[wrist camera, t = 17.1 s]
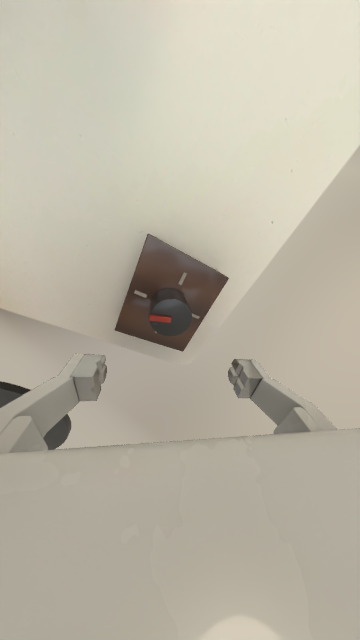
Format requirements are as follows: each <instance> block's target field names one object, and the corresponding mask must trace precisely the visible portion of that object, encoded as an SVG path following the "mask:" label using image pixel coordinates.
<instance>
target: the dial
mask: <svg viewBox="0 0 360 640" xmlns="http://www.w3.org/2000/svg"><path fill="white" fill-rule="evenodd" d="M149 321H150V325H151V327H152V328H153V329H154V330H155V331H156V332H157V333H158V334H160V335H163V336H168V337H172V336H177V335H180V334H182V333H183V332H185V331H186V330H187V329H188V328H189V326H190V324H191V322H192V312H191V310H190V307H189V305H188V303H187V300H186V298H185V296H184V295H183V294H182V293H181V292H180V291H178V290H176V289H173V288H166V289H162V290H160V291H158V292H157V293H156V294H155V295H154V297H153V298H152V301H151V308H150V315H149Z"/></svg>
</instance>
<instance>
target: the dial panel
mask: <svg viewBox="0 0 360 640" xmlns="http://www.w3.org/2000/svg"><path fill="white" fill-rule="evenodd" d="M228 279H229V278H228V277H227V276H225V275H223V274H221V273H220V272H218V271H216V270H214V269H212V268H211V267H209V266H207V265H205V264H203V263H201V262H200V261H198V260H196V259H194V258H192V257H190V256H189V255H187V254H185V253H183V252H181V251H179V250H178V249H176V248H174V247H172V246H170V245H168V244H167V243H165V242H163V241H161V240H159V239H158V238H156V237H154V236H152V235H150V234H148V235H147V238H146V241H145V244H144V247H143V250H142V253H141V255H140V258H139V261H138V264H137V267H136V270H135V273H134V275H133V278H132V281H131V284H130V287H129V290H128V293H127V296H126V298H125V301H124V304H123V307H122V310H121V313H120V316H119V319H118V321H117V324H116V327H115V331H119V332H122V333H125V334H128V335H131V336H135V337H138V338H141V339H144V340H148V341H151V342H154V343H157V344H160V345H164V346H167V347H170V348H173V349H176V350H180V351H184V349H185V347H186V346H187V344H188V343H189V341H190V339H191V338H192V336H193V335H194V333H195V331H196V330H197V328H198V327H199V325H200V323H201V322H202V320H203V319H204V317H205V315H206V314H207V312H208V311H209V309H210V307H211V306H212V304H213V303H214V301H215V300H216V298H217V296H218V295H219V293H220V292H221V290H222V288H223V287H224V285H225V284H226V282H227V280H228ZM166 288H173V289H176V290H178V291H180V292H181V293H182V294H183V295H184V296H185V298H186V300H187V303H188V305H189V307H190V310H191V312H192V322H191V324H190V326H189V328H188V329H187V330H186V331H185V332H183V333H182V334H180V335H177V336H172V337H168V336H163V335H160V334H158V333H157V332H156V331H155V330H154V329H153V328H152V327H151V325H150V321H149V315H150V308H151V301H152V298H153V297H154V295H155V294H156V293H157V292H158V291H160V290H162V289H166Z"/></svg>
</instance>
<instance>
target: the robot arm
mask: <svg viewBox="0 0 360 640" xmlns="http://www.w3.org/2000/svg"><path fill="white" fill-rule="evenodd" d="M105 361H106V358H105V355H94V354H75V355H73V356H72V358H71V359H70V360H69V362H68V363H67V364H66V366H65V367H64V369H63V370H62V371H61V372H60V374H59V375H58V376H57V377H53V378H51V379H50V380H48V381H46V382H45V383H43V384H41V385H40V386H38V387H36V388H34V389H32V390H31V391H29V392H27V393H26V394H24V395H22V396H20V397H19V398H17V399H15V400H13V401H12V402H10V403H8V404H7V405H5V406H3V407H1V408H0V640H360V428H356V429H342V430H338V429H337V428H336V427H335V426H334V425H333V424H332V423H331V422H330V421H329V420H328V419H327V418H326V416H325V415H324V414H323V413H322V412H321V411H320V410H319V409H318V408H317V407H316V406H315V405H313V404H312V403H310V402H309V401H307V400H306V399H304V398H302V397H301V396H299V395H298V394H296V393H295V392H293V391H292V390H290V389H289V388H287V387H285V386H284V385H282V384H281V383H279V382H278V381H276V380H274V379H271V378H270V376H269V375H268V374H267V373H266V371H265V370H264V369H263V368H262V366H261V365H260V364H259V363H258V361H256V360H241V359H234V360H233V362H232V367H231V368H230V369H229V371H228V377H229V380H230V382H231V383H232V384H233V385H234V390H235V393H236V395H237V397H238V398H250V399H251V400H252V401H253V402H254V403H255V404H256V405H257V406H258V407H259V408H260V409H261V410H262V411H263V412H264V413H265V414H266V415H267V416H268V417H270V418H271V419H272V420H273V421H274V422H275V423H276V424H277V425H278V426H277V428H276V429H275V430H274V434H270V435H256V436H241V437H227V438H212V439H199V440H184V441H169V442H155V443H141V444H126V445H113V446H98V447H84V448H69V449H55V450H48V446H47V444H46V442H45V440H44V439H43V438H44V437H45V435H46V433H47V432H48V431H49V430H50V429H51V428H52V427H53V426H54V425H55V424H57V423H58V422H59V421H60V420H61V419H62V418H63V417H64V416H65V415H66V414H67V413H68V412H69V411H70V410H71V409H73V408H74V407H75V406H76V405H77V404H78V403H79V401H97V399H98V396H99V394H100V391H101V384H102V383H104V380H105V378H106V373H107V367H106V365H105V364H104V363H105Z"/></svg>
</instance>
